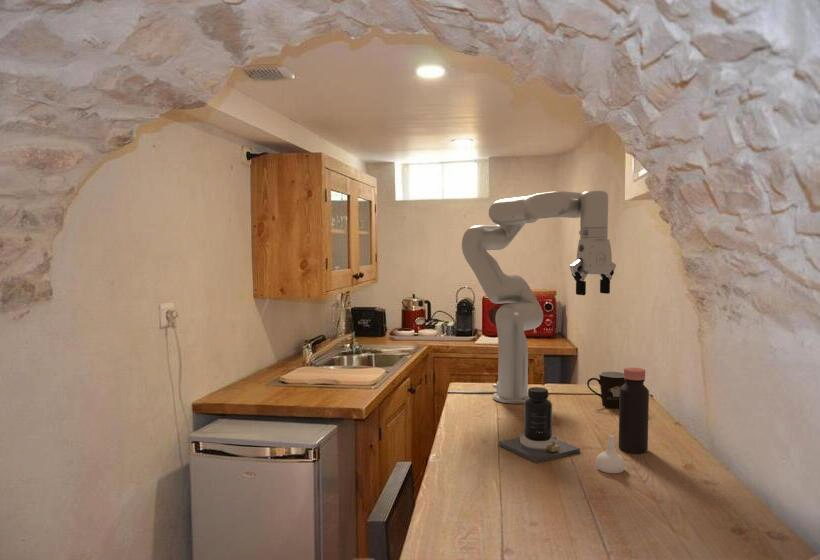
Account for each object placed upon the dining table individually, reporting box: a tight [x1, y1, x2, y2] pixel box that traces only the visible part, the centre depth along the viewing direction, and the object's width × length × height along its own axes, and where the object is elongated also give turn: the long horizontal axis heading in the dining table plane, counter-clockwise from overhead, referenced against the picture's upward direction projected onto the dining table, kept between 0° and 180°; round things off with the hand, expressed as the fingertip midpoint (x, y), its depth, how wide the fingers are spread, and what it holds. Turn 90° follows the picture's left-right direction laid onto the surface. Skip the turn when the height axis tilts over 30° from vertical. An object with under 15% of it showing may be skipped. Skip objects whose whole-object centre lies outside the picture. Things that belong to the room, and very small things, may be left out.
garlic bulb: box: [595, 434, 626, 474], centre depth 135 cm, size 6×6×8 cm
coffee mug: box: [586, 371, 625, 410], centre depth 187 cm, size 12×9×10 cm
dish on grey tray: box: [498, 432, 581, 464], centre depth 148 cm, size 14×14×3 cm
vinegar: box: [618, 367, 650, 454], centre depth 147 cm, size 7×7×20 cm
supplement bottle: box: [523, 386, 553, 441], centre depth 148 cm, size 7×7×12 cm
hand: (592, 294), depth 172 cm, fingers open, 9 cm apart
